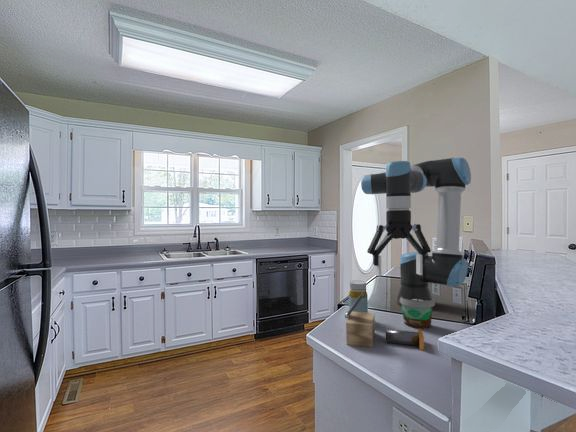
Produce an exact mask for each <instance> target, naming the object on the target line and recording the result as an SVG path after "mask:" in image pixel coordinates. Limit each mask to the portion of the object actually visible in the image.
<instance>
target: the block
mask: <svg viewBox="0 0 576 432" xmlns="http://www.w3.org/2000/svg"><path fill="white" fill-rule="evenodd" d="M375 321H376V320H375V313H374V312H368V313H366V312H354V311H352V312H351V314H350V315H349V317H348V318H347V320H346V323H345V324H346V325H345V326H346V327H345V330H346V331H345V332H346V333H345V334H346V340H345V341H346V345H347V346H349V345H350V346H357V347H364V348H373V346H374V337H375V329H376V328H375V327H376V326H375Z"/></svg>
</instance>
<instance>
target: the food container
mask: <svg viewBox="0 0 576 432" xmlns="http://www.w3.org/2000/svg"><path fill="white" fill-rule="evenodd" d="M400 303H401V304H402V305H401V310H402V318H403V324H404V325H405V326H407V327H409V328H413V329H417V330H418V329H422V330H423V329H424V330H425V329H428V328H430V327H432V326H431V325H432V319H433V318H432V317H433V311H434V310H433V308H434V306H435V305H436V302H435V300H434V299H432V300H431V301H428V300H421V299H404V298H402V297H401V298H400Z"/></svg>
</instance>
